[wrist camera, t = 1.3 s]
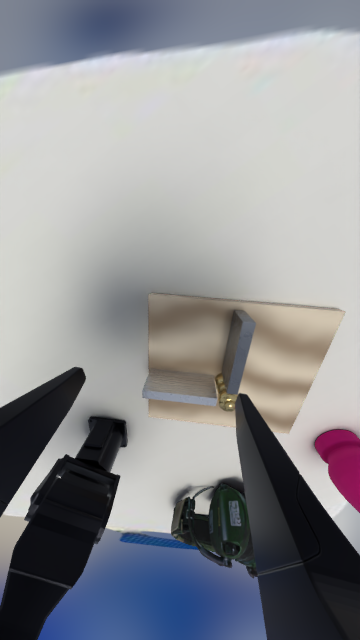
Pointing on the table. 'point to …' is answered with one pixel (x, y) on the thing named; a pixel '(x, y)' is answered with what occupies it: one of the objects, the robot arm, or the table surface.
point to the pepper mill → (342, 462)
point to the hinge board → (262, 362)
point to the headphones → (217, 528)
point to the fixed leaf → (187, 388)
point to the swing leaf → (237, 351)
